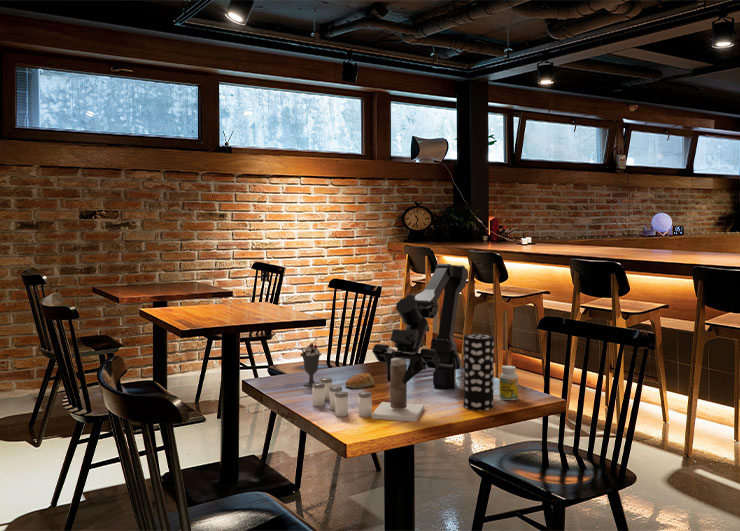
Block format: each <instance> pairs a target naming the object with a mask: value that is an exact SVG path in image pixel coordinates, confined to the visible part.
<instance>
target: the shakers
mask: <svg viewBox="0 0 740 531" xmlns="http://www.w3.org/2000/svg"><path fill="white" fill-rule="evenodd" d="M311 388H312V406H313V407H317V406H319V407H325V404H326V401H329V409H330V411H331V410H332V411H334V415H335V416H336V417H339V418H341V417H342V418H343V417H347V416H349V393H348V391H345V390H344V391H343V387H342V386H341V385H333V378H332V377H321V378H319V382H315V383H313V384H312V387H311ZM372 395H373V394H372V392H370V391H358V416H359V417H361V418H369V417H372V413H373V412H372V410H373V409H372V408H373V405H372V402H373V400H372V399H373V398H372V397H373V396H372Z"/></svg>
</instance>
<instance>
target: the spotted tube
mask: <svg viewBox="0 0 740 531" xmlns="http://www.w3.org/2000/svg"><path fill="white" fill-rule="evenodd" d="M494 341H495V337H494V335H491V334H487V333H486V334H484V333H469V334H464V335H463V383H462V384H463V385H462V386H463V395H462V396H463V398H462V399H463V401H462V402H463V404H462V405H463V406H462V407H463V408H465V409H466V408H467V409H466V410H470V411H476V410H485V411H489V410H488V409H490V410H492V409H494V364H495V362H494V360H495V358H494V354H495V353H494V351H495V350H494V348H495V347H494V345H495V343H494ZM491 408H492V409H491Z"/></svg>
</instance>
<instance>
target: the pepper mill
mask: <svg viewBox="0 0 740 531" xmlns="http://www.w3.org/2000/svg"><path fill="white" fill-rule="evenodd" d="M407 369H408V366H407V359H405V358H392V359H391V364H390V384H389V385H390V389H389V390H390V394H389V395H390V406H391V408H395V409H403V408H406V407H407V404H408V403H407V402H408V401H407V396H408V395H407V394H408V393H407V389H408V388H407V387H408V386H407V385H408V384H407V383H408V382H407V383H406V384H404V383H403V380H404V376H405V374H406V371H407Z"/></svg>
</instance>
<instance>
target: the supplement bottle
mask: <svg viewBox="0 0 740 531" xmlns="http://www.w3.org/2000/svg"><path fill="white" fill-rule="evenodd" d="M516 372H517V371H516V366H514V365H502V366H501V373H500V374H499V384H498V385H499V387H498V388H499V391H498V392H499V393H498V394H499V400H501V399H503V400H502V401H504V400H516V399H517V400H518V399H519V375H518V374H517V373H516ZM517 400H516V401H517Z"/></svg>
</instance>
